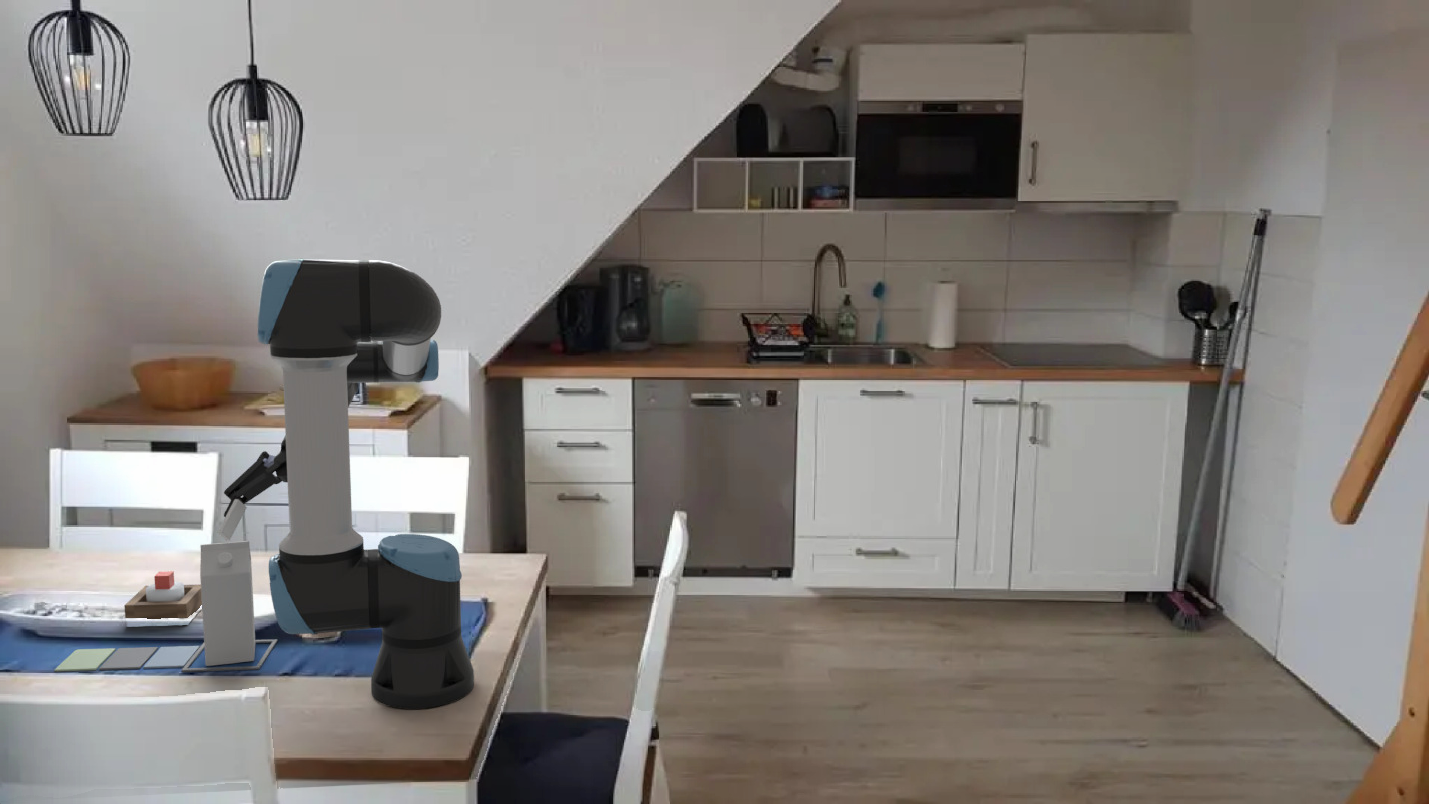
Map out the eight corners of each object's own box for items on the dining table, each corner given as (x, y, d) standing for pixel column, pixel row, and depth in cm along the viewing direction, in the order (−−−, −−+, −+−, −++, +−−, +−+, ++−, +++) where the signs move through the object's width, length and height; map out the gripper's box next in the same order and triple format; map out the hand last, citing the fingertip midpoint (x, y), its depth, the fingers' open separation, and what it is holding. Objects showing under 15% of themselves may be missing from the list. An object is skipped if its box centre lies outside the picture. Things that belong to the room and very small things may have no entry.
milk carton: (208, 650, 182) (202, 538, 179) (255, 645, 185) (249, 534, 181) (205, 667, 176) (198, 551, 172) (254, 661, 178) (248, 547, 175)
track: (259, 669, 175) (259, 667, 175) (49, 676, 171) (49, 674, 171) (277, 641, 187) (277, 639, 187) (81, 646, 182) (80, 645, 182)
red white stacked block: (178, 614, 194) (176, 578, 193) (142, 615, 193) (139, 579, 192) (189, 602, 200) (187, 567, 199) (154, 603, 199) (152, 568, 198)
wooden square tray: (187, 625, 192) (186, 603, 192) (125, 627, 191) (124, 605, 190) (205, 605, 202) (204, 584, 201) (146, 606, 201) (145, 585, 200)
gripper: (381, 452, 196) (332, 559, 185) (261, 441, 203) (207, 543, 192) (362, 428, 190) (311, 537, 179) (240, 417, 197) (183, 522, 186)
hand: (257, 541), depth 185 cm, fingers open, 13 cm apart
